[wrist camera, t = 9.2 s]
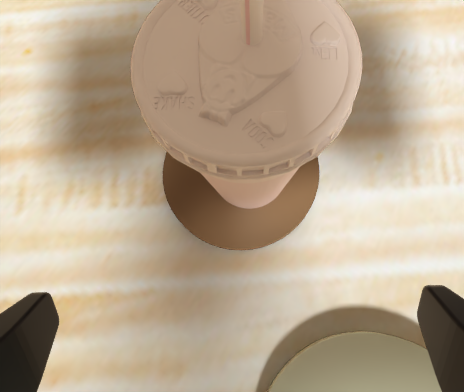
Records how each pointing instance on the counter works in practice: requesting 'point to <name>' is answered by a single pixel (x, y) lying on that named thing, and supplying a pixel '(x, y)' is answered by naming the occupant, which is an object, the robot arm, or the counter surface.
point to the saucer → (358, 366)
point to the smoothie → (246, 87)
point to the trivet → (232, 217)
